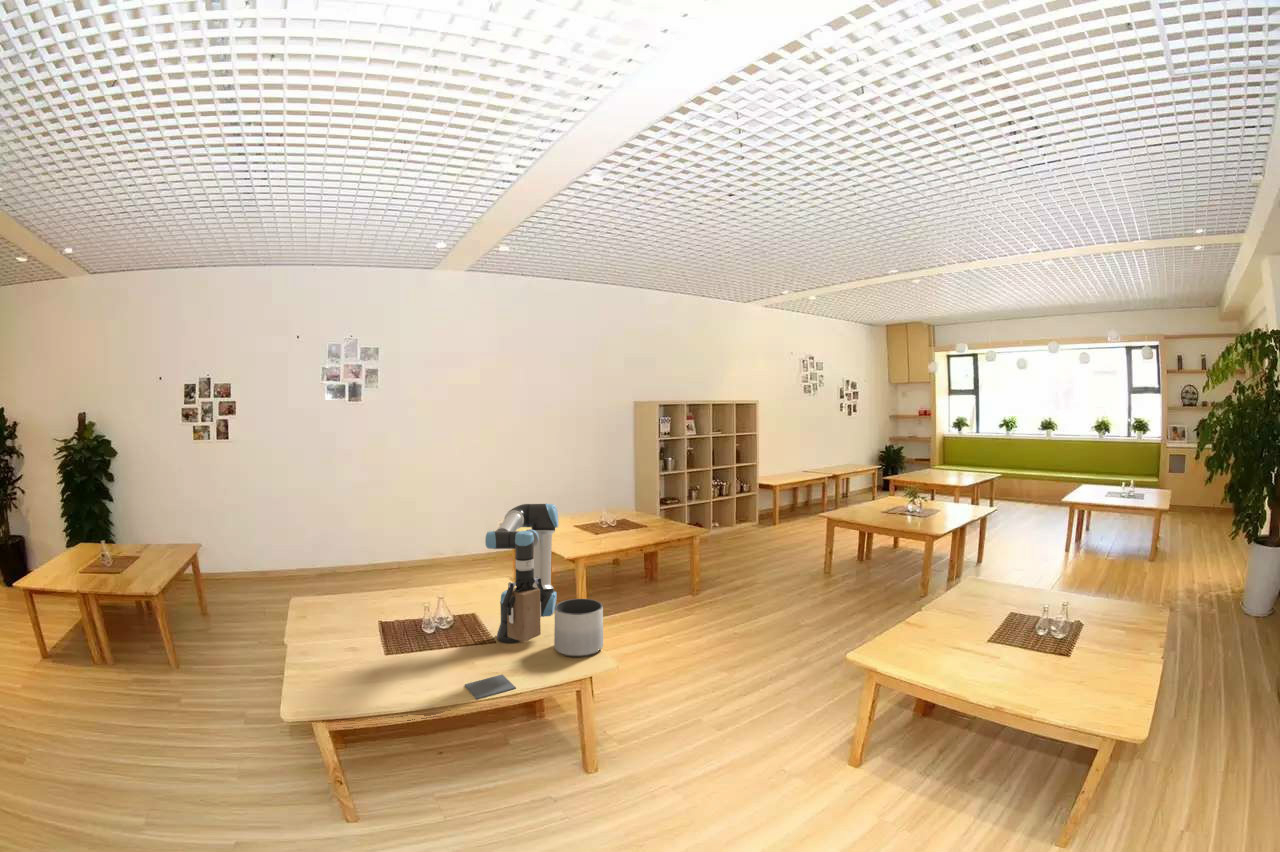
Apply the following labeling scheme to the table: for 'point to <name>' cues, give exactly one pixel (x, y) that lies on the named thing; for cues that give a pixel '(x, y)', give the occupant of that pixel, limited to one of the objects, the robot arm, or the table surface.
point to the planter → (578, 627)
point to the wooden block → (525, 615)
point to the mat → (489, 686)
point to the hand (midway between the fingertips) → (525, 619)
